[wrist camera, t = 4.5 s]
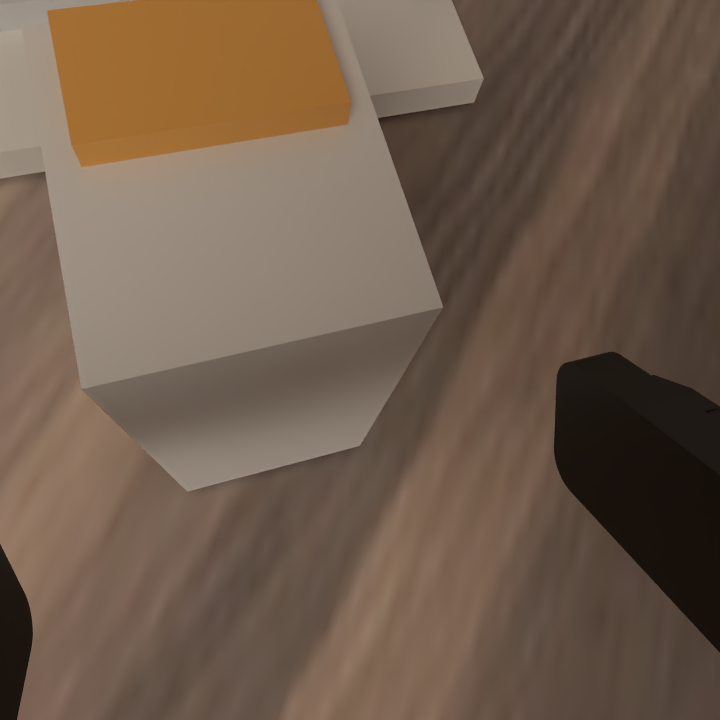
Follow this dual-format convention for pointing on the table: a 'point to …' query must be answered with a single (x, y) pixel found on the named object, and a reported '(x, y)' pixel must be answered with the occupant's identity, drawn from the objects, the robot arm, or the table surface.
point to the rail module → (226, 228)
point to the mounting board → (367, 34)
